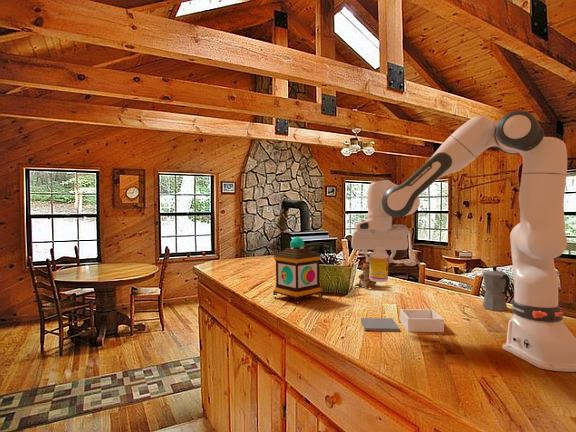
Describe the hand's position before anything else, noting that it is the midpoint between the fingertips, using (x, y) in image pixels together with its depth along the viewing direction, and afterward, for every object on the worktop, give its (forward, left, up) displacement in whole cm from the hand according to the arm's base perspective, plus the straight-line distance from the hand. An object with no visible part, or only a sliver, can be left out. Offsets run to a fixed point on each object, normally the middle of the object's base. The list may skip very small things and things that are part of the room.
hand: (379, 261), depth 135 cm
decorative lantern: (+41, +32, -24) cm, 57 cm away
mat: (0, 0, -24) cm, 24 cm away
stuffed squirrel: (+68, -6, -24) cm, 72 cm away
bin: (0, -15, -24) cm, 28 cm away
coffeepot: (+24, -53, -24) cm, 63 cm away
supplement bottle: (0, 0, -7) cm, 7 cm away
